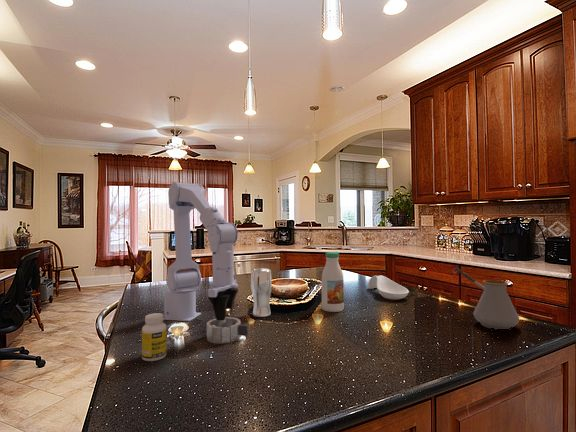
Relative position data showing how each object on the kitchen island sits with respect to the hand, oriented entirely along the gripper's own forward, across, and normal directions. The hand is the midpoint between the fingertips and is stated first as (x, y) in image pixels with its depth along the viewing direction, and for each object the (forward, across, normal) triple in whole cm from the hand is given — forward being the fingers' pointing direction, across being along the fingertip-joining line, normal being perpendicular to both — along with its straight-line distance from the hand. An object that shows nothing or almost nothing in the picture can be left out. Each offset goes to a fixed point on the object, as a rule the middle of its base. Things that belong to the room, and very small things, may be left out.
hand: (223, 317), depth 89 cm
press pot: (+5, 0, -1) cm, 5 cm away
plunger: (+4, 0, 0) cm, 4 cm away
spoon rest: (+6, +58, -46) cm, 74 cm away
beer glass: (+6, +22, -4) cm, 23 cm away
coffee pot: (+6, +28, -73) cm, 78 cm away
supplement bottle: (+6, -15, +11) cm, 19 cm away
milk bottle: (+6, +32, -27) cm, 42 cm away
